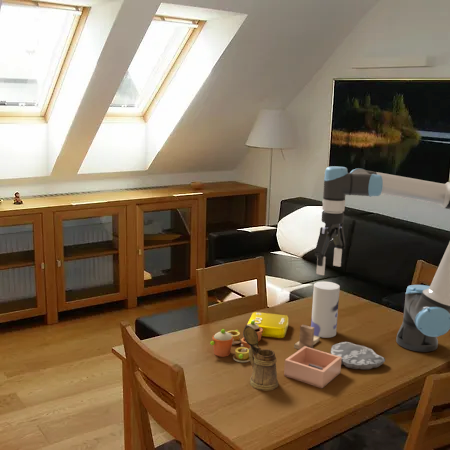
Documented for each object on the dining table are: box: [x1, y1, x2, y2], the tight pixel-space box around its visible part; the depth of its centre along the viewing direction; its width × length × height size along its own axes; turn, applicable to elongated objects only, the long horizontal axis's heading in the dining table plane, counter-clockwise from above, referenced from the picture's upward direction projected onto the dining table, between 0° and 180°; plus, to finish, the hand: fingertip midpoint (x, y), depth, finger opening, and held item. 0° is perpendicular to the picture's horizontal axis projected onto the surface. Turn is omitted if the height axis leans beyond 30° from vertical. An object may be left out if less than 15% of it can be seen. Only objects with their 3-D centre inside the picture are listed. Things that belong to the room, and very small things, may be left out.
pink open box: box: [283, 346, 342, 389], centre depth 194 cm, size 14×14×6 cm
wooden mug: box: [242, 324, 279, 391], centre depth 187 cm, size 9×14×18 cm, turn 47°
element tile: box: [246, 311, 289, 339], centre depth 232 cm, size 15×15×5 cm
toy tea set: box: [209, 321, 263, 363], centre depth 214 cm, size 26×16×10 cm, turn 162°
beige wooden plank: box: [293, 335, 321, 350], centre depth 219 cm, size 12×4×2 cm, turn 145°
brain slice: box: [330, 341, 386, 370], centre depth 206 cm, size 20×17×3 cm
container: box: [310, 281, 341, 339], centre depth 228 cm, size 10×10×20 cm
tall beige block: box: [298, 324, 315, 350], centre depth 206 cm, size 4×2×12 cm, turn 55°
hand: (328, 270), depth 205 cm, fingers open, 13 cm apart
